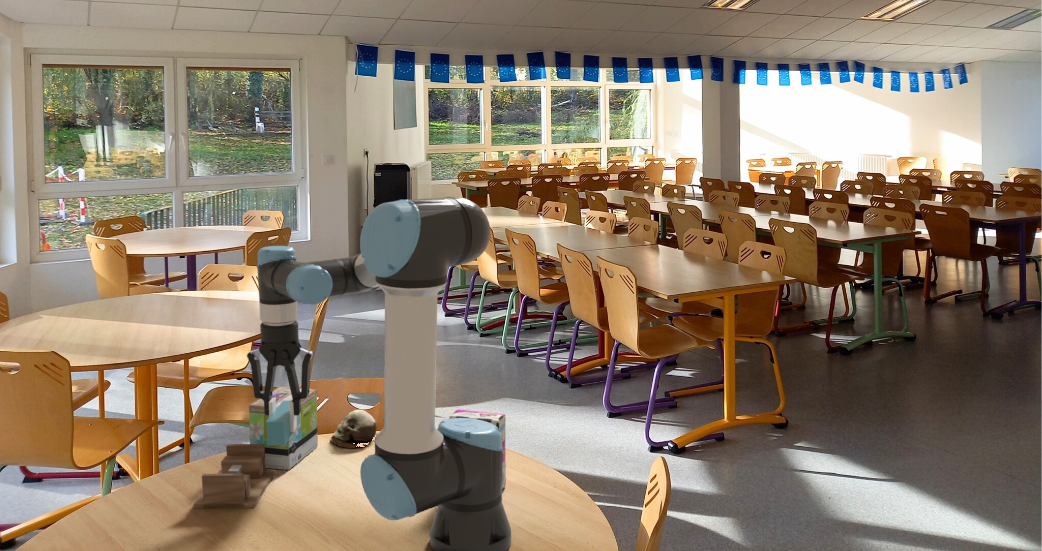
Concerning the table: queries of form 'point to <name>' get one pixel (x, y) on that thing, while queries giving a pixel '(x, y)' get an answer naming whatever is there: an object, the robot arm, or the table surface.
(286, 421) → the long teal rectangular block
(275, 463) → the tea box
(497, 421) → the candy bar box
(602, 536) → the table surface
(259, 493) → the cradle
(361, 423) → the skull
